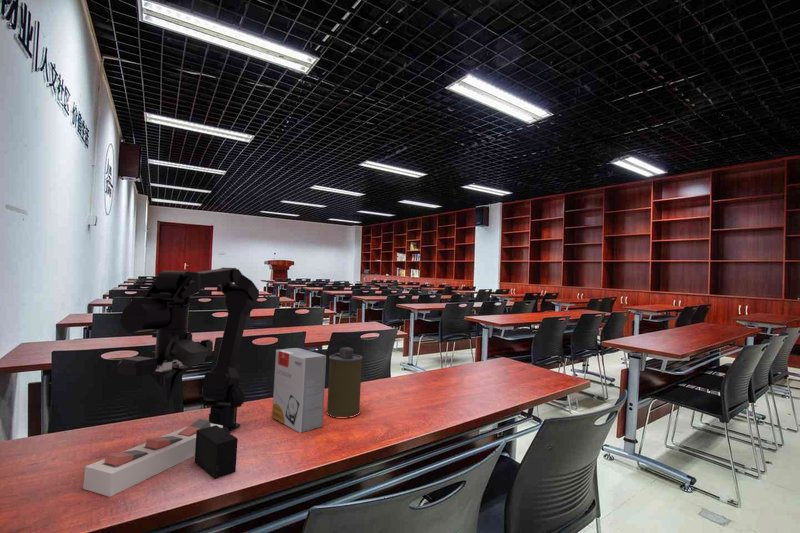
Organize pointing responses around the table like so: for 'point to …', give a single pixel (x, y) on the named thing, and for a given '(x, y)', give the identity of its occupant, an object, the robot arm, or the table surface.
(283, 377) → the hard drive box
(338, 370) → the canister
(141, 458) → the rocker switch panel
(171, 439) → the rocker
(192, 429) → the rocker
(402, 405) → the table surface
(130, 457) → the rocker
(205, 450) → the black cubic block
